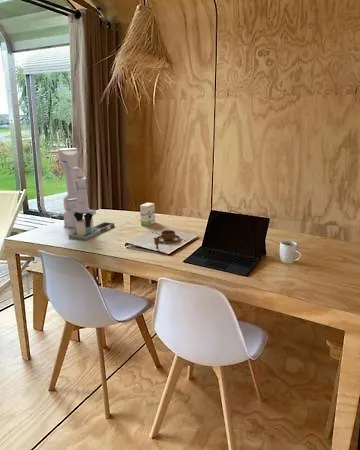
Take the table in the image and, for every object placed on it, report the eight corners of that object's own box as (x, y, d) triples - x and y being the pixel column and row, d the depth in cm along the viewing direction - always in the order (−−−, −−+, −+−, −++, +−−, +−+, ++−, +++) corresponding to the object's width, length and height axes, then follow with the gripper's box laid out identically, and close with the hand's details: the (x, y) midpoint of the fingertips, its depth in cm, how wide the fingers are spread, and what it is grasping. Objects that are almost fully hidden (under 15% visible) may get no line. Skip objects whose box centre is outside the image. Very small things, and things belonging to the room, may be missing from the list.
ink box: (147, 226, 209) (147, 206, 206) (140, 225, 211) (139, 205, 208) (155, 222, 217) (154, 202, 213) (148, 221, 219) (147, 202, 215)
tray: (69, 238, 191) (68, 234, 190) (85, 230, 202) (84, 227, 202) (85, 240, 186) (85, 236, 186) (101, 232, 198) (101, 229, 198)
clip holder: (91, 231, 202) (91, 227, 201) (104, 225, 212) (103, 222, 212) (103, 232, 199) (102, 228, 199) (114, 226, 210) (114, 223, 209)
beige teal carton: (77, 234, 191) (75, 221, 189) (87, 229, 199) (86, 217, 197) (83, 235, 190) (82, 222, 188) (93, 230, 198) (92, 217, 195)
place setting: (189, 242, 182) (189, 231, 181) (157, 252, 170) (157, 240, 168) (166, 235, 195) (166, 224, 193) (135, 243, 182) (135, 232, 181)
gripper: (65, 202, 189) (68, 227, 192) (89, 204, 183) (91, 230, 187) (74, 199, 195) (77, 223, 199) (97, 201, 189) (99, 226, 193)
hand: (84, 226), depth 193 cm, fingers closed on beige teal carton, 4 cm apart
